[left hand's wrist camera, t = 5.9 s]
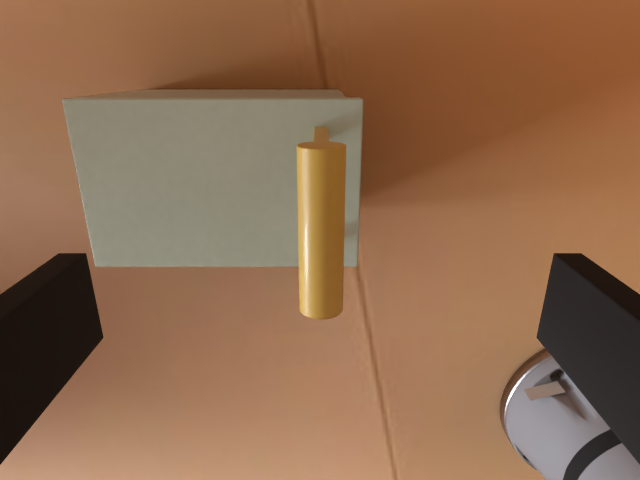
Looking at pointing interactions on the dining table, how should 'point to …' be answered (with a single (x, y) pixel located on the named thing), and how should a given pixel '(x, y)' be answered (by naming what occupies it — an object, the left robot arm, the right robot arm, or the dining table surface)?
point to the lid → (223, 184)
